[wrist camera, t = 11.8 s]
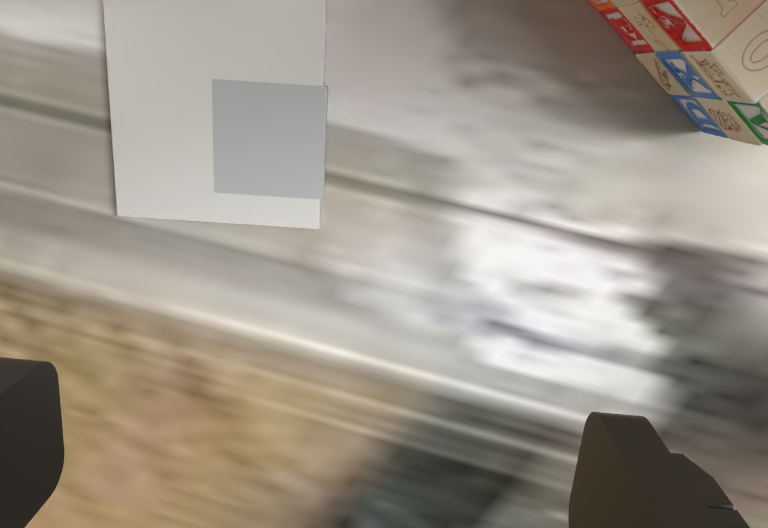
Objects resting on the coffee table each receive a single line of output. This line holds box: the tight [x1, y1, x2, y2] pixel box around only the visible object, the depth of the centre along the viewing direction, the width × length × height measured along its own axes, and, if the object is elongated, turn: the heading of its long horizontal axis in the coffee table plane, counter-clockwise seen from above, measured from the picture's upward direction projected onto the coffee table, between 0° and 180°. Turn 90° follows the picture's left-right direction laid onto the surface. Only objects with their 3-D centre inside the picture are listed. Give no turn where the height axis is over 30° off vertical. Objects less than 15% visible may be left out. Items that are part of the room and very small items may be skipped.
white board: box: [103, 0, 328, 229], centre depth 35 cm, size 12×22×1 cm, turn 176°
